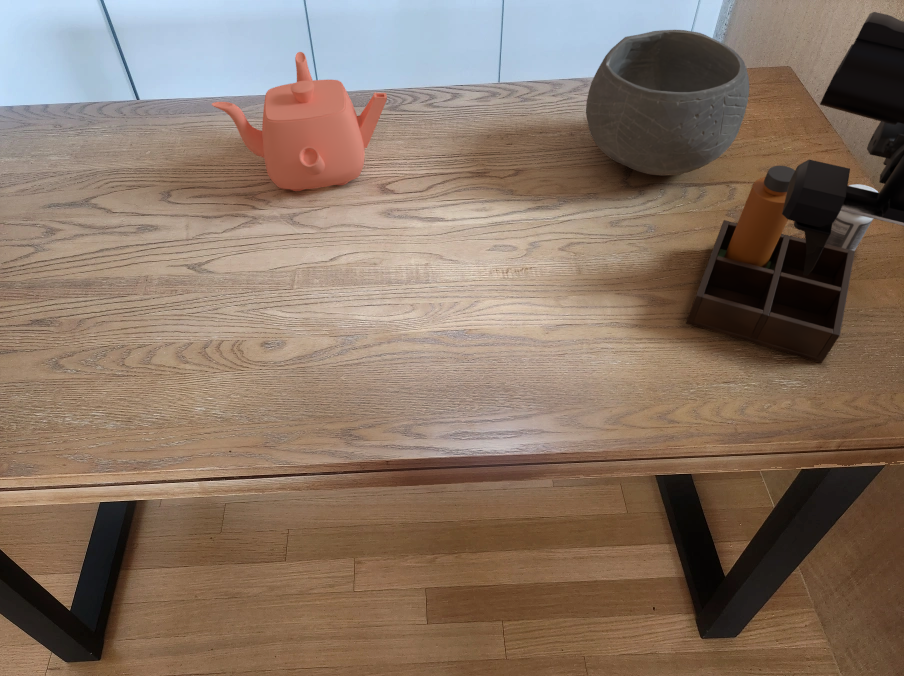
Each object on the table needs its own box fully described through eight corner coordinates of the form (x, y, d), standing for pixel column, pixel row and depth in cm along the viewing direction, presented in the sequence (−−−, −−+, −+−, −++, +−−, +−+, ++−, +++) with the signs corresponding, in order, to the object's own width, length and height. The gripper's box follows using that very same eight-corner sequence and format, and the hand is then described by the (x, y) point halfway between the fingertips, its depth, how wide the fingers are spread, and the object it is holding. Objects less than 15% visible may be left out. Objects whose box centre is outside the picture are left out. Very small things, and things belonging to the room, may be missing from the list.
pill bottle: (845, 237, 86) (877, 181, 79) (857, 261, 83) (891, 206, 76) (806, 236, 86) (834, 181, 80) (817, 261, 83) (847, 206, 77)
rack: (837, 279, 81) (855, 250, 78) (821, 363, 73) (840, 335, 70) (713, 248, 86) (723, 219, 83) (685, 323, 78) (696, 295, 75)
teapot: (234, 182, 103) (208, 97, 92) (313, 126, 111) (298, 43, 101) (321, 222, 95) (304, 135, 84) (399, 159, 104) (392, 72, 93)
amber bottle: (770, 276, 81) (818, 178, 70) (738, 289, 80) (782, 191, 69) (742, 253, 84) (784, 155, 73) (711, 265, 83) (749, 168, 72)
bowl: (744, 198, 92) (785, 95, 81) (591, 206, 93) (610, 105, 82) (701, 117, 105) (731, 18, 94) (568, 124, 107) (581, 28, 95)
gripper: (1098, 112, 52) (969, 260, 64) (838, 65, 57) (766, 210, 70) (1116, 194, 46) (971, 340, 58) (825, 133, 51) (748, 278, 64)
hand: (857, 286), depth 63 cm, fingers open, 9 cm apart
